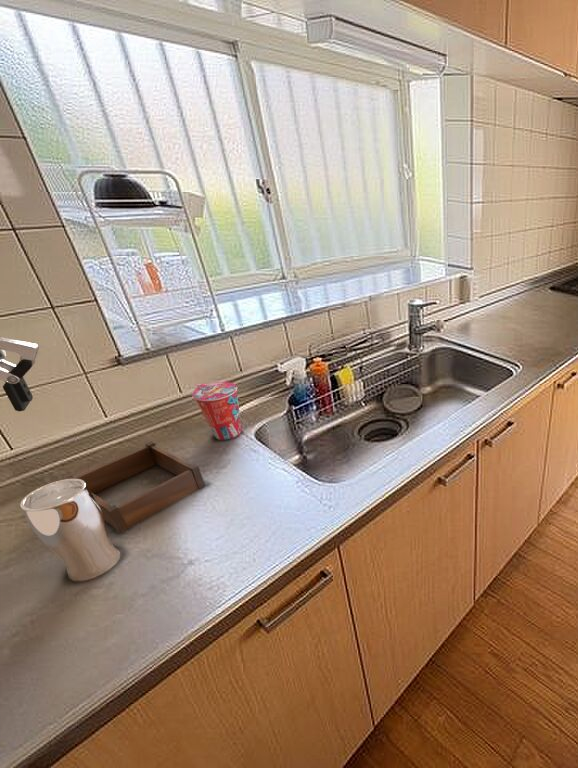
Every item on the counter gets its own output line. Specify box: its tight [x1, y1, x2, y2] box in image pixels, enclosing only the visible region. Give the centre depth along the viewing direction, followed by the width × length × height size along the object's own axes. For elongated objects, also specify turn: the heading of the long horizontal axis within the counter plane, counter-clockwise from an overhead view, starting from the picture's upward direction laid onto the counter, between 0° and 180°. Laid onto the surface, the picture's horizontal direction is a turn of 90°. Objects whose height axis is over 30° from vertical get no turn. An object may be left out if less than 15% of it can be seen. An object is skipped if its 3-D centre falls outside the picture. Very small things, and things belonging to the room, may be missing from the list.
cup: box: [191, 381, 242, 441], centre depth 96 cm, size 9×8×12 cm
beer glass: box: [20, 478, 121, 582], centre depth 63 cm, size 7×7×15 cm
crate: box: [62, 440, 206, 534], centre depth 79 cm, size 16×14×5 cm
